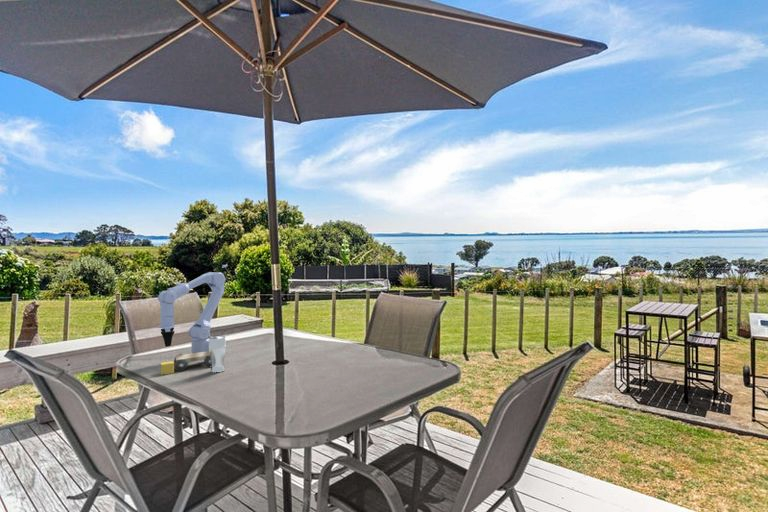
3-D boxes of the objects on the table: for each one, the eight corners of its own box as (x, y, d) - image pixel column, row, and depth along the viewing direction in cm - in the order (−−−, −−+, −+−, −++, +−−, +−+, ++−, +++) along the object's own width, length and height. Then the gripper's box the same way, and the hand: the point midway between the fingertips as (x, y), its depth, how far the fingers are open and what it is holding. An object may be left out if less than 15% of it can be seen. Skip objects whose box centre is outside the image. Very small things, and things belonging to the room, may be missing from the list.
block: (173, 370, 175) (173, 360, 175) (174, 373, 172) (173, 363, 172) (161, 372, 173) (160, 362, 173) (161, 375, 169) (160, 364, 169)
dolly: (213, 360, 192) (213, 340, 192) (216, 366, 181) (216, 345, 181) (174, 365, 183) (174, 344, 183) (175, 372, 173) (174, 350, 173)
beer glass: (205, 372, 172) (205, 338, 172) (219, 368, 178) (218, 335, 178) (216, 374, 169) (215, 339, 169) (229, 370, 175) (229, 336, 175)
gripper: (157, 314, 190) (158, 342, 190) (157, 319, 177) (158, 348, 177) (174, 313, 193) (174, 340, 193) (175, 317, 181) (175, 346, 181)
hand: (167, 344), depth 186 cm, fingers open, 7 cm apart
